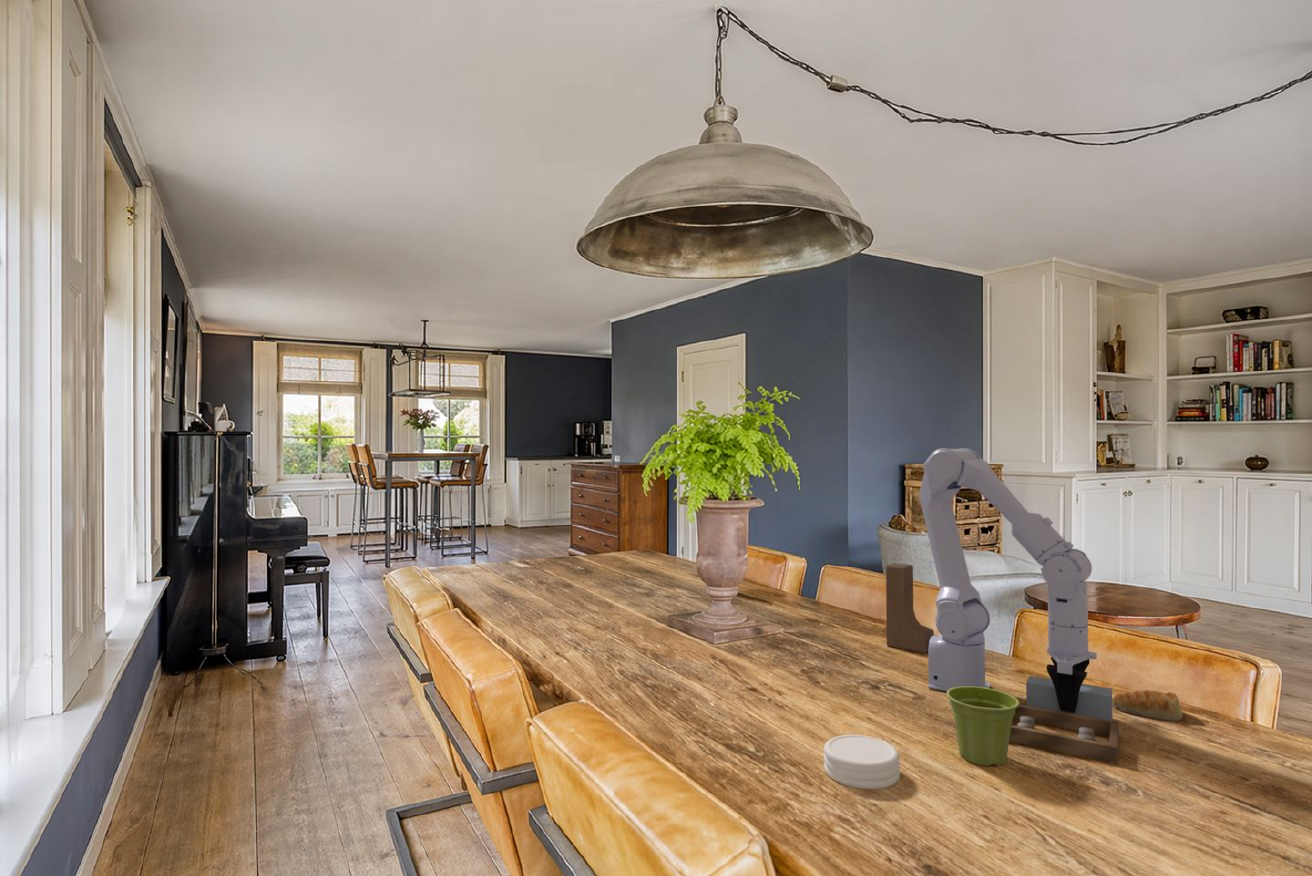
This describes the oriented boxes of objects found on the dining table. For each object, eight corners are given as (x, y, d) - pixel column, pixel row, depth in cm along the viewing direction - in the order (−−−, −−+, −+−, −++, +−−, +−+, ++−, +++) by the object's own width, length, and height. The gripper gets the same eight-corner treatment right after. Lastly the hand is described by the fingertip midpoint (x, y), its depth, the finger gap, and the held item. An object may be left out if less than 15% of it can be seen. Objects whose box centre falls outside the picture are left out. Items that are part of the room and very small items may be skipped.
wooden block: (934, 650, 153) (933, 567, 154) (925, 654, 150) (924, 570, 150) (895, 642, 160) (894, 562, 160) (885, 646, 157) (885, 565, 157)
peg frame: (992, 737, 107) (991, 723, 107) (1003, 714, 116) (1003, 701, 116) (1117, 763, 98) (1117, 748, 98) (1119, 736, 107) (1118, 722, 107)
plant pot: (958, 738, 107) (957, 681, 107) (1026, 755, 101) (1025, 694, 101) (938, 759, 100) (937, 698, 100) (1010, 779, 94) (1009, 714, 94)
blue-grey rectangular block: (1026, 713, 118) (1026, 683, 118) (1029, 704, 122) (1029, 675, 122) (1111, 728, 111) (1111, 696, 111) (1112, 719, 115) (1112, 688, 115)
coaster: (809, 774, 97) (809, 748, 97) (847, 751, 104) (847, 727, 104) (877, 799, 89) (876, 772, 89) (913, 773, 96) (912, 748, 96)
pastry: (1117, 716, 116) (1116, 692, 116) (1108, 702, 122) (1108, 680, 123) (1186, 724, 113) (1185, 700, 113) (1173, 710, 119) (1173, 687, 119)
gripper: (1094, 637, 108) (1095, 725, 108) (1098, 617, 120) (1099, 697, 120) (1042, 630, 112) (1043, 716, 112) (1051, 612, 124) (1052, 689, 124)
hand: (1068, 706), depth 116 cm, fingers open, 5 cm apart
